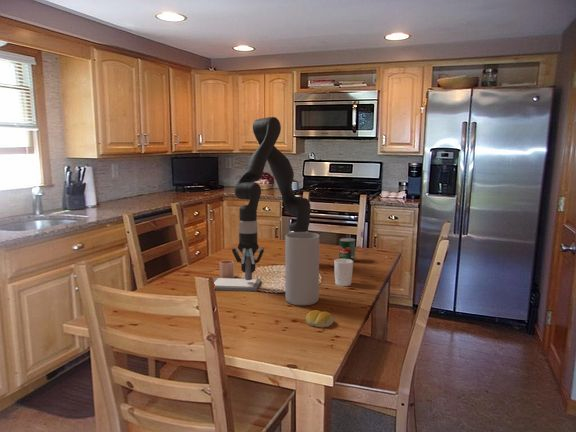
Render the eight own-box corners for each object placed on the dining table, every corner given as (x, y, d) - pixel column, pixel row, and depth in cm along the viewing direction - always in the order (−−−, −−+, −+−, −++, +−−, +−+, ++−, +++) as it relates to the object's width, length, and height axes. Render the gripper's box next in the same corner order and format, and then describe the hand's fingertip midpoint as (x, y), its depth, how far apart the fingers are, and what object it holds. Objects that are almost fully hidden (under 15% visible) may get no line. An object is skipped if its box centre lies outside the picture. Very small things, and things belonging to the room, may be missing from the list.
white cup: (354, 282, 186) (354, 259, 185) (350, 287, 179) (351, 264, 177) (336, 280, 189) (336, 257, 187) (331, 285, 181) (332, 262, 180)
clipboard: (261, 281, 187) (261, 278, 187) (256, 291, 174) (255, 287, 174) (215, 280, 189) (215, 277, 188) (207, 289, 176) (207, 286, 176)
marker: (252, 278, 182) (252, 247, 180) (251, 280, 179) (251, 249, 177) (245, 277, 182) (245, 247, 180) (244, 280, 179) (243, 249, 177)
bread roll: (313, 316, 149) (313, 305, 148) (336, 321, 144) (336, 310, 144) (300, 324, 142) (300, 312, 141) (325, 330, 137) (325, 318, 137)
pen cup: (235, 275, 195) (234, 260, 194) (232, 279, 189) (231, 264, 188) (222, 275, 196) (221, 260, 195) (218, 279, 190) (218, 263, 189)
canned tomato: (338, 262, 219) (339, 240, 217) (339, 258, 226) (340, 237, 225) (354, 262, 217) (355, 241, 216) (355, 259, 225) (355, 238, 223)
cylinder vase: (323, 297, 167) (324, 233, 163) (311, 308, 156) (311, 240, 152) (293, 293, 172) (293, 231, 168) (279, 303, 161) (279, 236, 157)
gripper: (266, 229, 180) (266, 270, 183) (233, 229, 182) (233, 269, 184) (263, 233, 173) (263, 275, 175) (229, 232, 174) (229, 274, 177)
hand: (248, 272), depth 180 cm, fingers closed on marker, 3 cm apart
